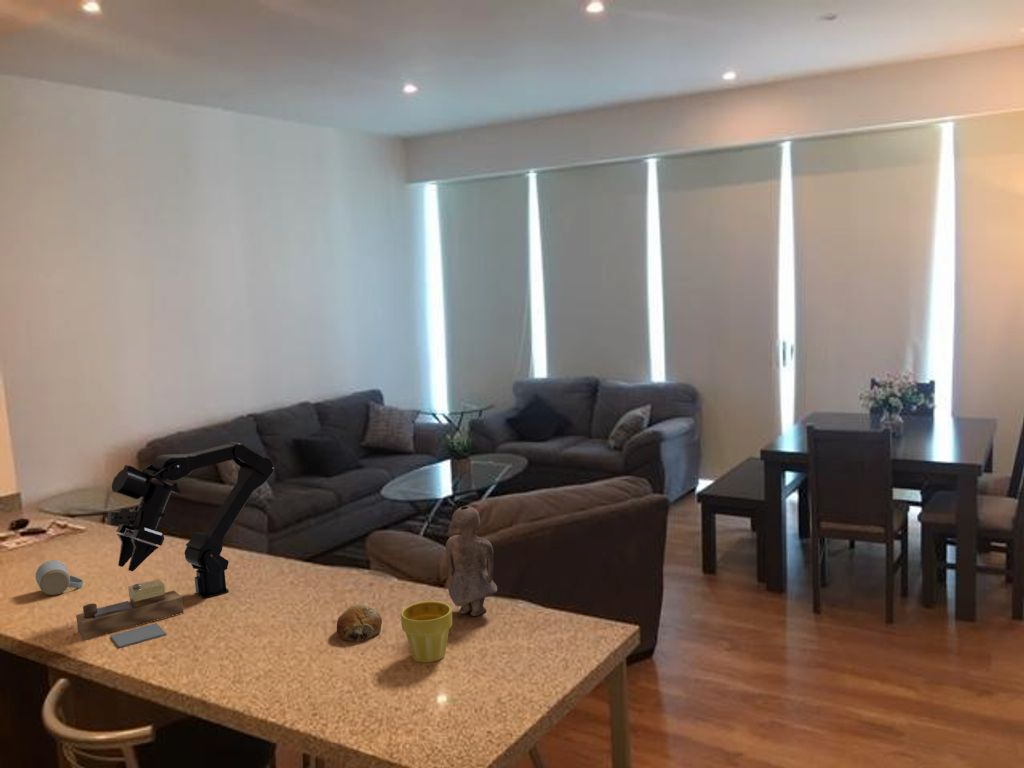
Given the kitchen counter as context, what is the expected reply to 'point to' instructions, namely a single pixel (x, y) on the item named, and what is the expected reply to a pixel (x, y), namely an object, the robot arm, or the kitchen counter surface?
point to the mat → (138, 635)
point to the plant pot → (427, 629)
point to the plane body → (126, 614)
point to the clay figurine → (469, 563)
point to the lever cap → (146, 590)
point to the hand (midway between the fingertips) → (125, 568)
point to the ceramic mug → (56, 578)
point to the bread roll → (358, 623)
